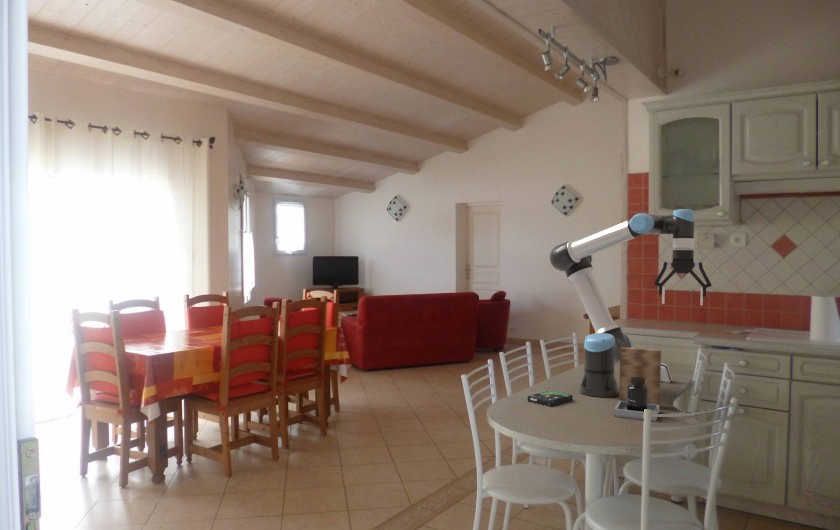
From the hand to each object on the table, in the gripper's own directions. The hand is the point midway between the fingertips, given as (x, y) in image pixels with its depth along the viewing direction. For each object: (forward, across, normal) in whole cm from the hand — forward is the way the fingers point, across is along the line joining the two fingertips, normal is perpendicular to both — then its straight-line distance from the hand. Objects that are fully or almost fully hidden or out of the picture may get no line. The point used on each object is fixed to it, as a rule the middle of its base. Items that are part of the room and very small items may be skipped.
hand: (682, 304), depth 235 cm
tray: (+37, +12, +32) cm, 50 cm away
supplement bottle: (+36, +12, +32) cm, 50 cm away
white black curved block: (+37, +14, -33) cm, 52 cm away
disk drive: (+38, +44, +28) cm, 64 cm away
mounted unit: (+37, +13, +18) cm, 43 cm away
